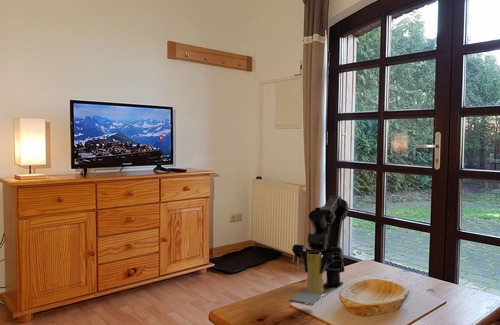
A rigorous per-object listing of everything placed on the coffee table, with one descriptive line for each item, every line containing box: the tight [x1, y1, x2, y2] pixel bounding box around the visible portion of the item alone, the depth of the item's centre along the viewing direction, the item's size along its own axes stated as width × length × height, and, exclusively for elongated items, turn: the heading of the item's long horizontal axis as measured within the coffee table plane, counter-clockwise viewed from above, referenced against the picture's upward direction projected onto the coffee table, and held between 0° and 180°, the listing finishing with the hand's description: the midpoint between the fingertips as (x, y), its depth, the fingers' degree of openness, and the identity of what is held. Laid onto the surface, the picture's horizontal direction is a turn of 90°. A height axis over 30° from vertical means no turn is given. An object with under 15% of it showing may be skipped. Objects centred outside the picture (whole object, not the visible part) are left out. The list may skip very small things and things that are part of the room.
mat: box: [289, 289, 326, 305], centre depth 158 cm, size 13×10×1 cm
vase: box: [306, 251, 325, 293], centre depth 147 cm, size 6×6×14 cm
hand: (313, 272), depth 146 cm, fingers closed on vase, 5 cm apart
